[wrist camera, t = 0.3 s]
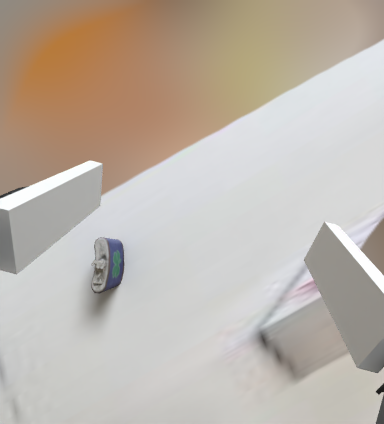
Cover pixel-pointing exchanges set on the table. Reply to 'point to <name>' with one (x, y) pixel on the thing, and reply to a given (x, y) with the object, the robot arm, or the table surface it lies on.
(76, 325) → the table surface
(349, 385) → the table surface
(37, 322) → the table surface
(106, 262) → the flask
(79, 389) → the table surface
